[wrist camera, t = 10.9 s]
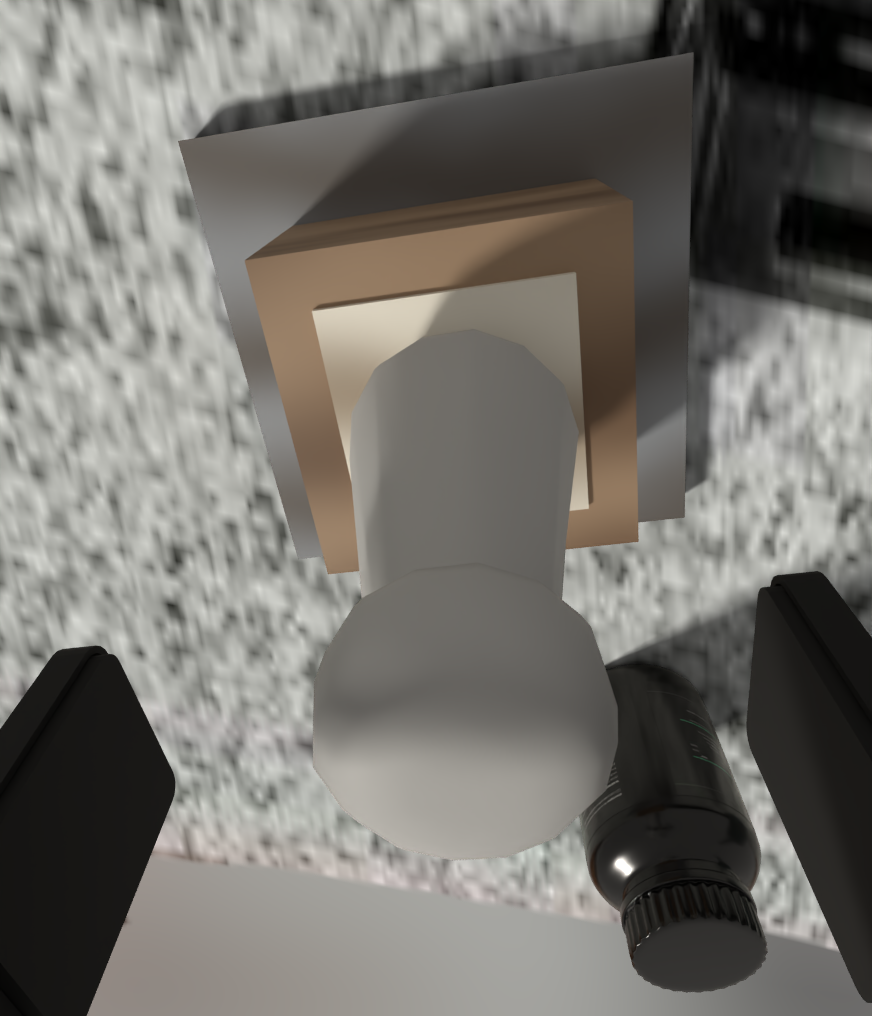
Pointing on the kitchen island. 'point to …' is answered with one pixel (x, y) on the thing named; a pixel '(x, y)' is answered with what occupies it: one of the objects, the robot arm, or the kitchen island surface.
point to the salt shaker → (463, 612)
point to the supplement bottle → (675, 839)
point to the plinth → (458, 164)
